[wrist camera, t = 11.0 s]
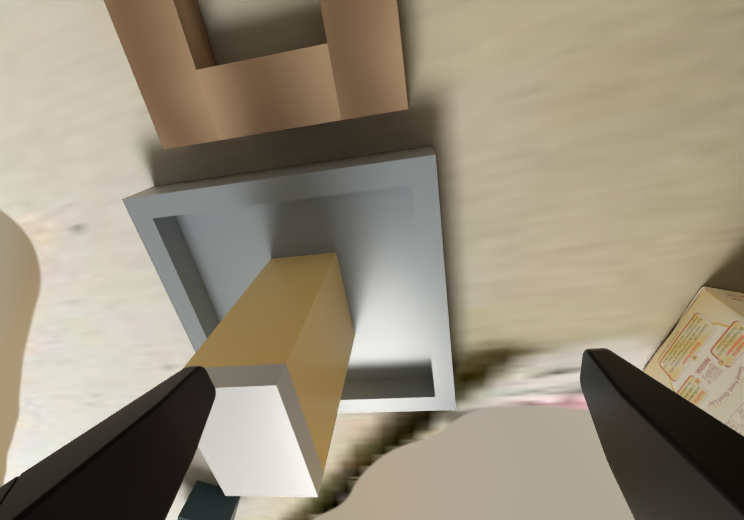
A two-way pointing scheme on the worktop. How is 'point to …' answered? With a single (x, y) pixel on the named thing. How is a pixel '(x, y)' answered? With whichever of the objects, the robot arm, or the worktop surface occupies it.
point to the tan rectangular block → (278, 379)
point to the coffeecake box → (707, 356)
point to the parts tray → (318, 236)
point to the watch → (209, 504)
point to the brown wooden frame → (260, 71)
